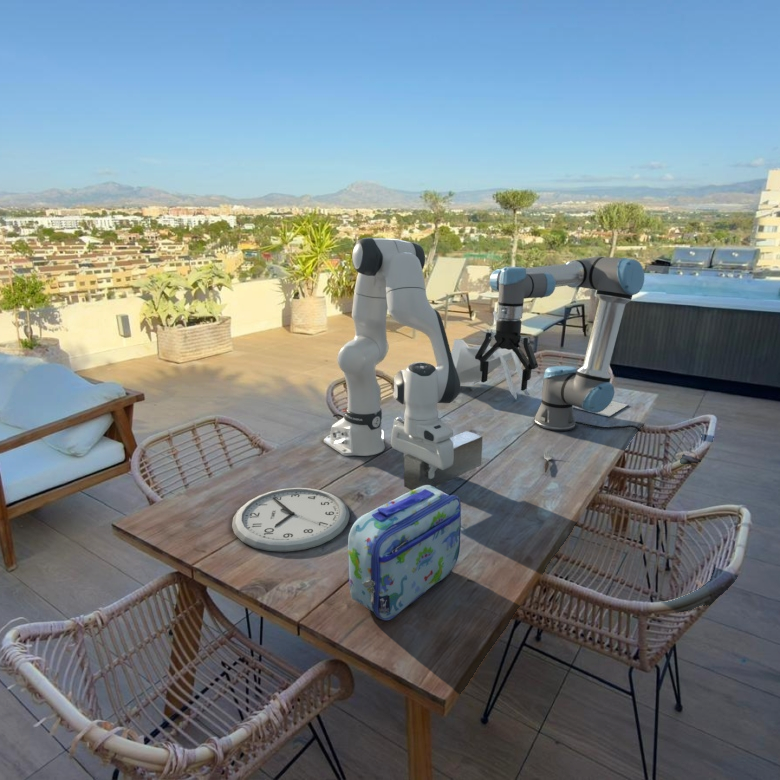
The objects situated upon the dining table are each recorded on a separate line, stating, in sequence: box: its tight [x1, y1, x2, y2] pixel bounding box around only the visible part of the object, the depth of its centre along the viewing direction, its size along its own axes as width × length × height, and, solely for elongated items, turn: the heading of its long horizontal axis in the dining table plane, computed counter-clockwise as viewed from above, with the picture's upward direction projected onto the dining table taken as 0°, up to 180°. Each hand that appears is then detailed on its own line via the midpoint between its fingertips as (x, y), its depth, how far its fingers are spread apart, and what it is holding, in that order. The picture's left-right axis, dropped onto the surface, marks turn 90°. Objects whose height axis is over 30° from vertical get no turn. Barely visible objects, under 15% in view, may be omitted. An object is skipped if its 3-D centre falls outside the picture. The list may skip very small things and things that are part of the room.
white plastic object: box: [451, 310, 531, 400], centre depth 245 cm, size 37×45×31 cm
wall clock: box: [231, 487, 351, 553], centre depth 136 cm, size 30×2×30 cm
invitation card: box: [573, 400, 629, 418], centre depth 226 cm, size 21×1×15 cm
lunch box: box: [347, 485, 462, 621], centre depth 107 cm, size 26×11×21 cm, turn 134°
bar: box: [403, 430, 484, 491], centre depth 147 cm, size 26×6×9 cm, turn 132°
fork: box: [543, 448, 554, 473], centre depth 170 cm, size 3×16×2 cm, turn 160°
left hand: (420, 473), depth 141 cm, fingers closed on bar, 6 cm apart
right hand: (503, 385), depth 166 cm, fingers open, 13 cm apart
